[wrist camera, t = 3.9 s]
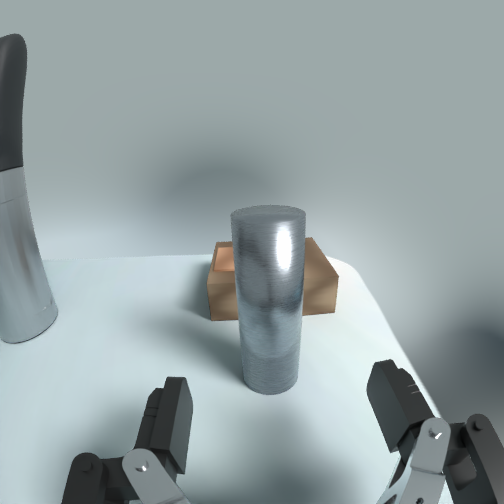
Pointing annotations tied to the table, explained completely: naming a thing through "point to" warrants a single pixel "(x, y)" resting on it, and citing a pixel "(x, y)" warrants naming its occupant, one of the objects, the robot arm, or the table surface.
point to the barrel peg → (269, 293)
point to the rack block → (314, 293)
